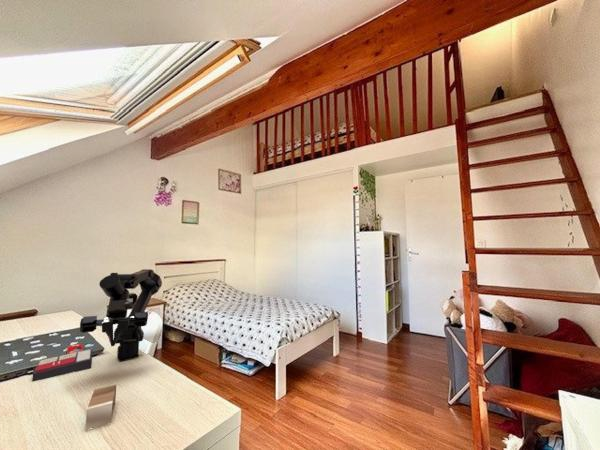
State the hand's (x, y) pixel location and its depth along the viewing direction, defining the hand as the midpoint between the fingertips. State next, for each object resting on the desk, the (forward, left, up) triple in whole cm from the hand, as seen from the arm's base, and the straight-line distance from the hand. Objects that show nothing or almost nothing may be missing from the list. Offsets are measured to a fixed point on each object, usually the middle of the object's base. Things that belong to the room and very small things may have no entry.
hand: (112, 345), depth 82 cm
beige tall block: (+2, +11, -10) cm, 15 cm away
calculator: (+12, -25, -13) cm, 30 cm away
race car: (+9, -38, -13) cm, 41 cm away
